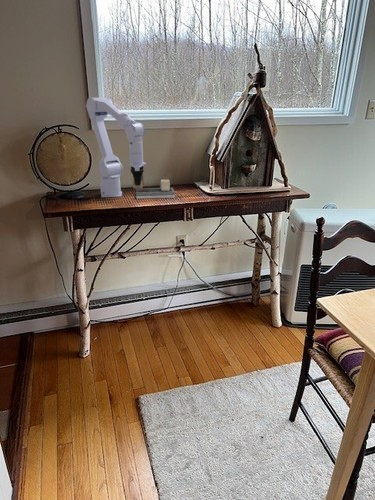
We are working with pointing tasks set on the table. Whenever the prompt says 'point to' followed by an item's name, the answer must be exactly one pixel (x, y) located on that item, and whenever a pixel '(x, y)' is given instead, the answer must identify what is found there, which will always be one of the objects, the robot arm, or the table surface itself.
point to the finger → (138, 185)
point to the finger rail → (156, 191)
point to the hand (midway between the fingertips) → (137, 183)
